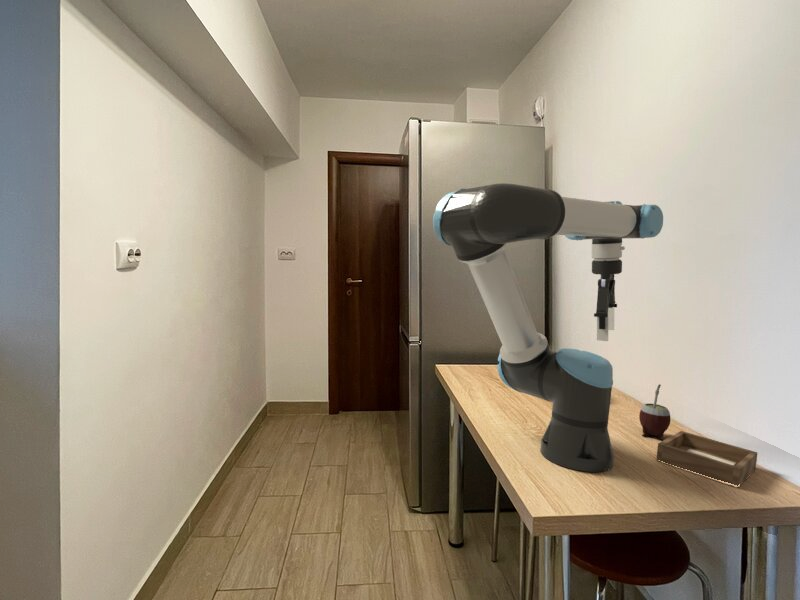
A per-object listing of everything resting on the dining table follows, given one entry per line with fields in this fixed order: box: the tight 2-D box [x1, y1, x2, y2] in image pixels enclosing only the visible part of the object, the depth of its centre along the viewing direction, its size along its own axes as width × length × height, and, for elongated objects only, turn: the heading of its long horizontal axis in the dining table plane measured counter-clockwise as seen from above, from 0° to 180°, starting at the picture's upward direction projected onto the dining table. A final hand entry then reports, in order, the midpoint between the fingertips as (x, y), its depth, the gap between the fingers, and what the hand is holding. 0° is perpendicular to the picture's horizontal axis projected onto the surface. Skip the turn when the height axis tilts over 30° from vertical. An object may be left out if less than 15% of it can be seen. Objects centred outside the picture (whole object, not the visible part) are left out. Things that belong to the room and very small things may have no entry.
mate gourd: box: [638, 383, 671, 442], centre depth 115 cm, size 8×8×15 cm
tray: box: [655, 430, 758, 486], centre depth 99 cm, size 15×15×4 cm
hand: (605, 335), depth 125 cm, fingers open, 13 cm apart
